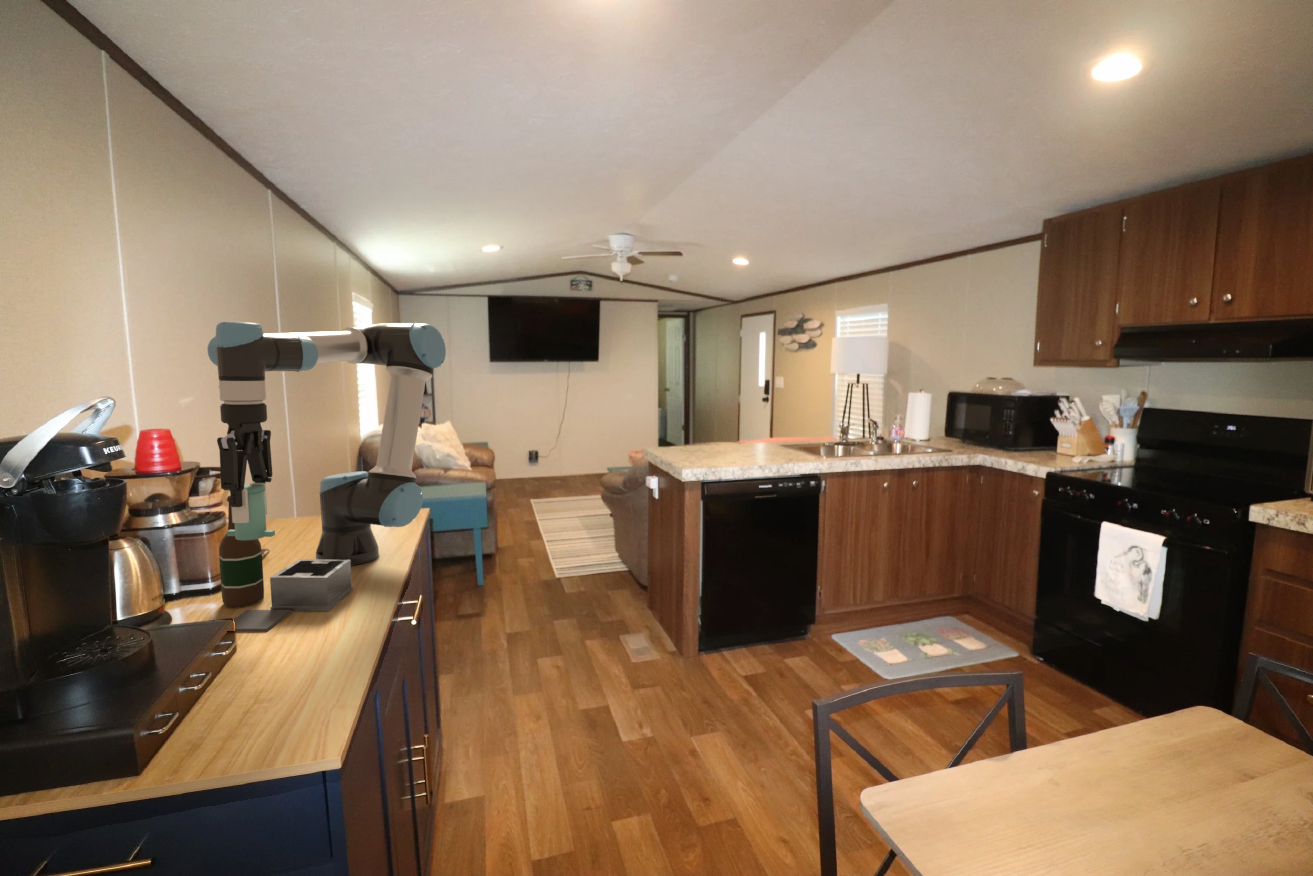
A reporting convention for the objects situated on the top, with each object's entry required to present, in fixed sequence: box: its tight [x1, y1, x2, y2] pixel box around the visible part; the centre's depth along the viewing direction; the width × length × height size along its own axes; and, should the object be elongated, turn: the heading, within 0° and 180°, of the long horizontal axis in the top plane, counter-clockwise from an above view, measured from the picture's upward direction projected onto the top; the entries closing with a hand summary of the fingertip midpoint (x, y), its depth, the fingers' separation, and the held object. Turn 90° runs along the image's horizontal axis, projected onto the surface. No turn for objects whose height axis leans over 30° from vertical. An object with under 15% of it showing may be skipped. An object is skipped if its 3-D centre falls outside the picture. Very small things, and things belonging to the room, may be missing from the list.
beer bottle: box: [218, 495, 265, 609], centre depth 133 cm, size 8×8×24 cm
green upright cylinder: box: [226, 483, 276, 540], centre depth 122 cm, size 9×6×10 cm, turn 93°
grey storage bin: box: [269, 558, 354, 613], centre depth 135 cm, size 12×12×8 cm
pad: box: [233, 609, 292, 633], centre depth 125 cm, size 9×9×1 cm
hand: (250, 518), depth 122 cm, fingers closed on green upright cylinder, 5 cm apart
